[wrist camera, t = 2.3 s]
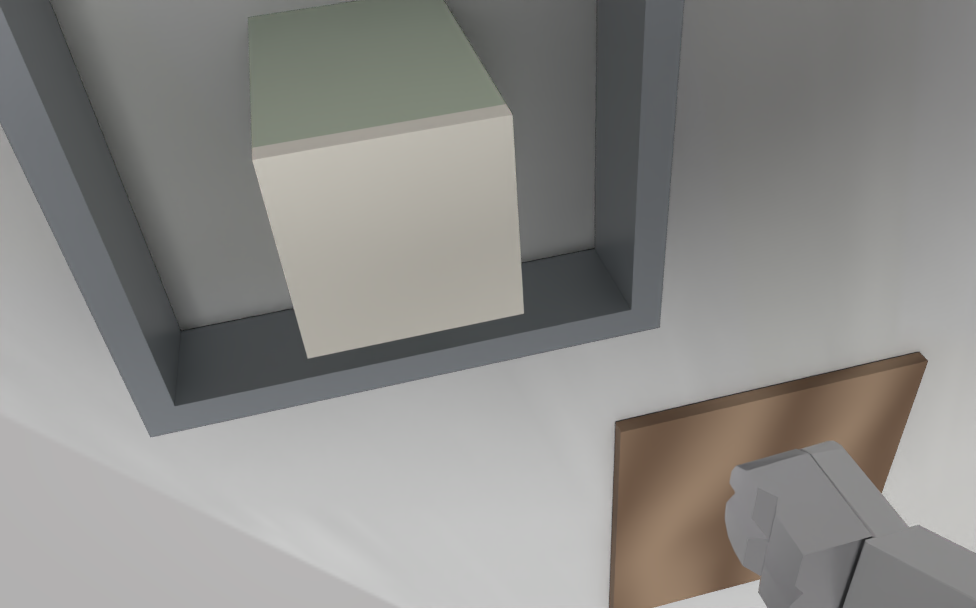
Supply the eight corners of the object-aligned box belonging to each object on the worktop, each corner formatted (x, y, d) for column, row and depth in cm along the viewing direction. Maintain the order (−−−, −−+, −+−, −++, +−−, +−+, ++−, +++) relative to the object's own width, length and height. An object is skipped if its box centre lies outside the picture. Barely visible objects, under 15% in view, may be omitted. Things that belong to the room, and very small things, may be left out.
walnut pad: (919, 351, 36) (927, 360, 36) (854, 543, 45) (860, 552, 45) (615, 422, 35) (620, 432, 34) (609, 607, 43) (613, 618, 43)
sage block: (436, -12, 22) (512, 114, 16) (454, 154, 25) (523, 313, 19) (247, 17, 22) (251, 159, 15) (290, 184, 25) (307, 358, 19)
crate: (640, -283, 20) (705, -273, 17) (621, 266, 30) (659, 327, 27) (-85, -204, 17) (-144, -179, 15) (159, 360, 27) (150, 437, 25)
